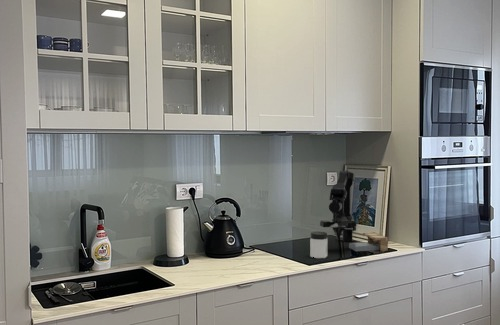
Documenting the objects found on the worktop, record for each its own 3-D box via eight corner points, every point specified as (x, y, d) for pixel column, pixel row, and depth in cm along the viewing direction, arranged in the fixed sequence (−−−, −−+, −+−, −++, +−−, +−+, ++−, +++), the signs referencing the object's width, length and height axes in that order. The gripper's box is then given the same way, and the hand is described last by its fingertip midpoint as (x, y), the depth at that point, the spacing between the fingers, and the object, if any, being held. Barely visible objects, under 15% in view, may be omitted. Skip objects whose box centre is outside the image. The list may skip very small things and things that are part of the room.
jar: (331, 256, 251) (331, 233, 251) (319, 259, 246) (320, 235, 246) (317, 253, 258) (317, 230, 258) (306, 256, 253) (306, 232, 253)
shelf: (362, 245, 279) (362, 232, 278) (374, 244, 280) (374, 232, 280) (375, 251, 263) (375, 238, 263) (387, 250, 265) (387, 237, 264)
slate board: (349, 248, 273) (349, 243, 272) (372, 247, 276) (372, 241, 275) (355, 252, 264) (356, 246, 264) (380, 250, 267) (380, 245, 267)
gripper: (327, 212, 256) (327, 243, 257) (361, 211, 260) (360, 241, 261) (319, 210, 267) (319, 239, 268) (352, 208, 271) (352, 237, 272)
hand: (338, 239), depth 267 cm, fingers closed
